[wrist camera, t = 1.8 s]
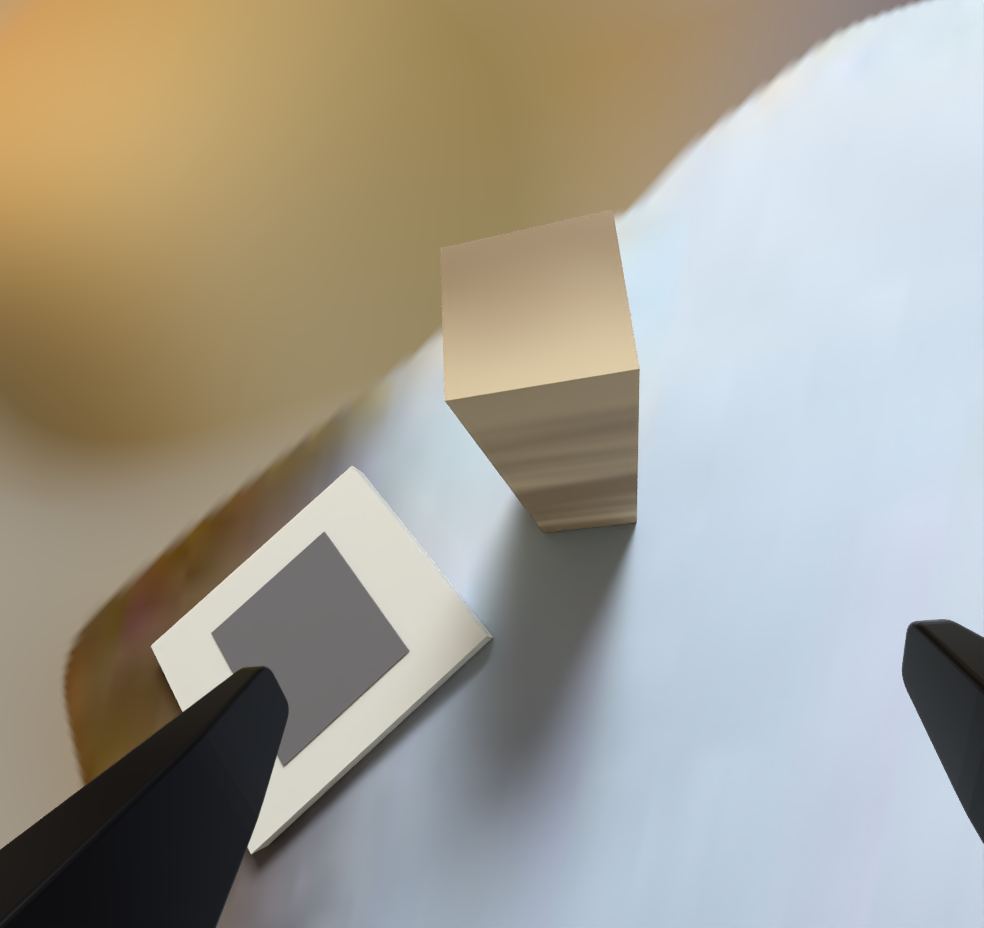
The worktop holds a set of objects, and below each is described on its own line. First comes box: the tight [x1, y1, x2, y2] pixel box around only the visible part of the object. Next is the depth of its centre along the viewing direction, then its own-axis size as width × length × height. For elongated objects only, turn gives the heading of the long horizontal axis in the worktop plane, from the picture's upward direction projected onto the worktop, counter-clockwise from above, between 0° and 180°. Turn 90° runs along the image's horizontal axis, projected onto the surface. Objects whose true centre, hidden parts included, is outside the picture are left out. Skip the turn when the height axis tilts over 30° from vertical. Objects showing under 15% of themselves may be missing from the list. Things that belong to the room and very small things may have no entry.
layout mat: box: [151, 466, 493, 854], centre depth 21 cm, size 11×9×1 cm
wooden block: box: [440, 209, 639, 533], centre depth 16 cm, size 4×4×12 cm
